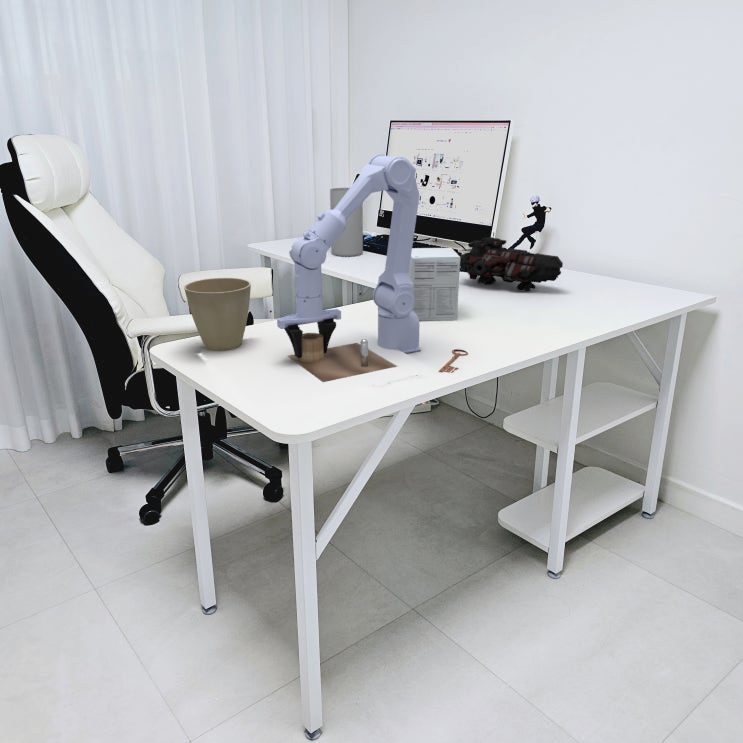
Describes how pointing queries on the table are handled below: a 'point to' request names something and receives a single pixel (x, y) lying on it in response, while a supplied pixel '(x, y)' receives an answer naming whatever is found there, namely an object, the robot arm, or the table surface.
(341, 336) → the table surface
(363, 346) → the silver metal cylinder
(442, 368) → the key
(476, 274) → the spaceship model
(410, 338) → the robot arm
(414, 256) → the supplement box
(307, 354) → the bead
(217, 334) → the plant pot
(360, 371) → the fabric cloth
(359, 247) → the cylinder vase
